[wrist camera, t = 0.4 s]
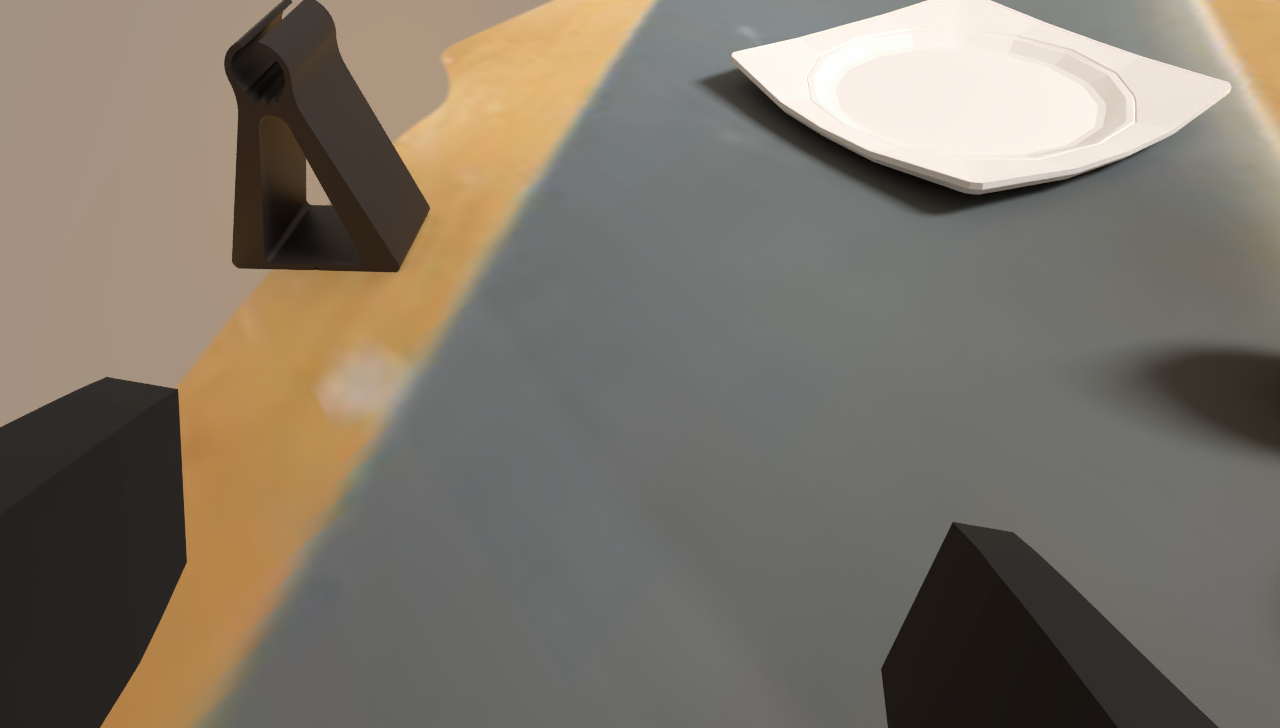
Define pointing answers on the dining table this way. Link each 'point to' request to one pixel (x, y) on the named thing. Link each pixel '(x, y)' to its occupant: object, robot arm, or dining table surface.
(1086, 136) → the plate
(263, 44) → the phone stand
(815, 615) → the dining table surface
